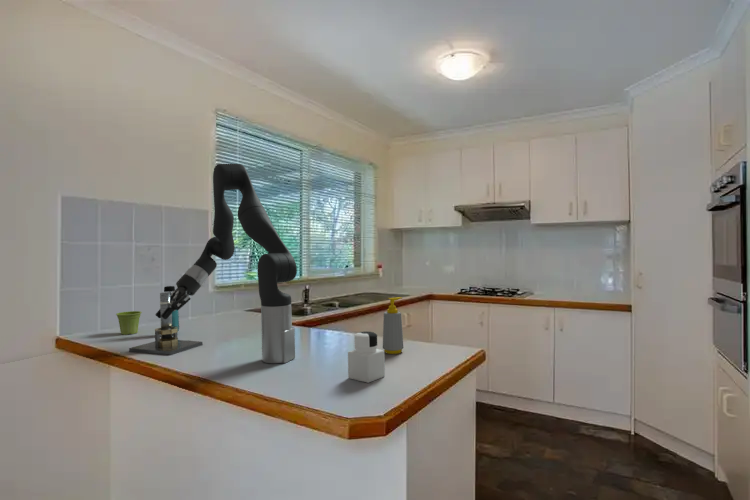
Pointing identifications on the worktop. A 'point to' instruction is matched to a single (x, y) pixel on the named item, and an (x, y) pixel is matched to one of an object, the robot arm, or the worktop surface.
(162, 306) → the glossy dome-topped cylinder
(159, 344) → the dark square plate
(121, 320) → the plant pot
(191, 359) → the worktop surface
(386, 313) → the soap bottle
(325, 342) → the worktop surface
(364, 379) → the medicine bottle
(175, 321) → the beverage bottle
